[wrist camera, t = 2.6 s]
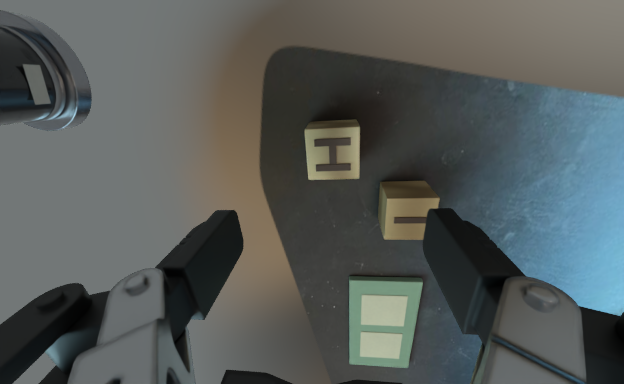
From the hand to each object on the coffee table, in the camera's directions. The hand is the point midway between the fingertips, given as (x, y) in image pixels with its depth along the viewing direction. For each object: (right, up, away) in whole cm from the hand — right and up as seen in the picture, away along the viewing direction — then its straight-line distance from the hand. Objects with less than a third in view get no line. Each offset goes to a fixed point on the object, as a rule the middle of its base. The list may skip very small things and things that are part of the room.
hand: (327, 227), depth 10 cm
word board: (+9, -18, +24) cm, 31 cm away
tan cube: (+9, +1, +15) cm, 18 cm away
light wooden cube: (+2, +6, +13) cm, 15 cm away
